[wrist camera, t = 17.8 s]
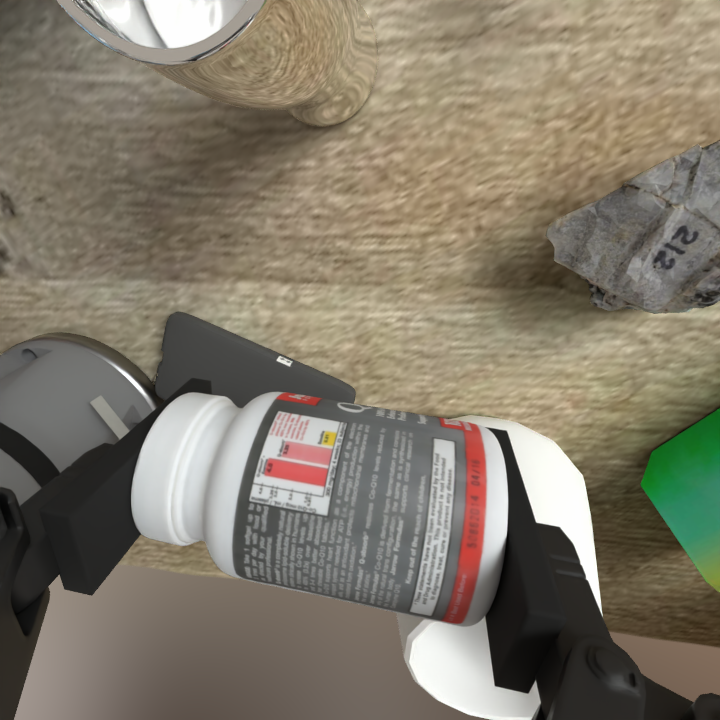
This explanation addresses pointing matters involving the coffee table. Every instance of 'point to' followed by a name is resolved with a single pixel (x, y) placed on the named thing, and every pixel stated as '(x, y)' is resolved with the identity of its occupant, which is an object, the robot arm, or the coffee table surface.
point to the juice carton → (690, 492)
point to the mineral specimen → (650, 238)
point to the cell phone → (235, 365)
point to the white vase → (470, 644)
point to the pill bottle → (331, 500)
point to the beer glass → (247, 49)
